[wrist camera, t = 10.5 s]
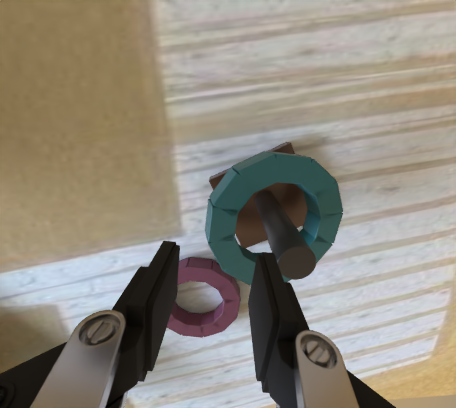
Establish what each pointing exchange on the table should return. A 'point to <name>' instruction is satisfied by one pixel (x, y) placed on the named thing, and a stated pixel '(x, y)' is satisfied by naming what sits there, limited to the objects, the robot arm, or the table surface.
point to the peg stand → (276, 223)
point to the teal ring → (257, 180)
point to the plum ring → (215, 319)
